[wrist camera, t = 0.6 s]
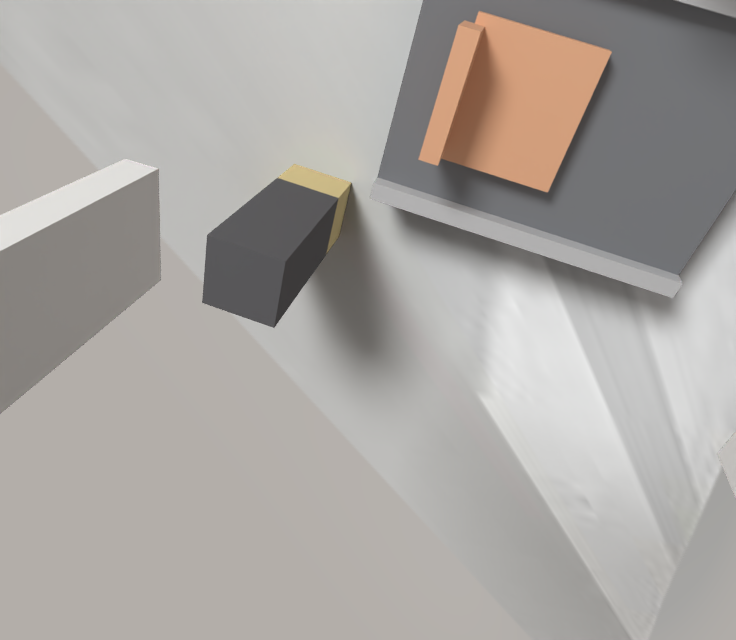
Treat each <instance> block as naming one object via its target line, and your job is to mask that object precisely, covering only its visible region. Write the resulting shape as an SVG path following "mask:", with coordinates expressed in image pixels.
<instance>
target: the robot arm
mask: <svg viewBox="0 0 736 640" xmlns="http://www.w3.org/2000/svg"><path fill="white" fill-rule="evenodd" d="M160 280H161V260H160V213H159V169H158V168H155V167H151V166H148V165H144V164H141V163H138V162H134V161H131V160H127V159H124V160H121V161H119V162H117V163H115V164H113V165H110V166H108V167H106V168H104V169H101V170H99V171H97V172H95V173H93V174H90V175H88V176H86V177H84V178H82V179H79V180H77V181H75V182H73V183H71V184H68V185H66V186H64V187H62V188H60V189H57V190H55V191H53V192H51V193H49V194H46V195H44V196H42V197H39V198H37V199H35V200H33V201H31V202H28V203H26V204H24V205H22V206H20V207H17V208H15V209H13V210H11V211H9V212H6V213H4V214H2V215H0V414H1V413H2V412H3V411H4V410H6V409H7V408H8V407H9V406H10V405H12V404H13V403H14V402H15V401H16V400H18V399H19V398H20V397H21V396H22V395H24V394H25V393H26V392H27V391H28V390H29V389H31V388H32V387H33V386H34V385H36V384H37V383H38V382H39V381H40V380H42V379H43V378H44V377H45V376H46V375H48V374H49V373H50V372H51V371H52V370H53V369H55V368H56V367H57V366H58V365H60V364H61V363H62V362H63V361H64V360H66V359H67V358H68V357H69V356H70V355H72V354H73V353H74V352H75V351H76V350H78V349H79V348H80V347H81V346H82V345H84V344H85V343H86V342H87V341H88V340H89V339H91V338H92V337H93V336H94V335H96V334H97V333H98V332H99V331H100V330H101V329H103V328H104V327H105V326H106V325H108V324H109V323H110V322H111V321H112V320H114V319H115V318H116V317H117V316H118V315H120V314H121V313H122V312H123V311H124V310H126V309H127V308H128V307H129V306H130V305H132V304H133V303H134V302H135V301H136V300H137V299H139V298H140V297H141V296H142V295H144V294H145V293H146V292H147V291H148V290H150V289H151V288H152V287H153V286H154V285H156V284H157V283H158V282H159V281H160ZM717 455H718V457H719V459H720V462H721V464H722V467H723V469H724V472H725V474H726V476H727V479H728V481H729V484H730V486H731V488H732V490H733V493H734V496H735V498H736V432H735V433H734V434H733V435H732V437H731V438H730V439H729V440H728V441H727V443H726V444H725V445H724V446H723V447H722V449H721V450H720V451H719V452H718V453H717Z"/></svg>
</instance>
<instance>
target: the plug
mask: <svg viewBox="0 0 736 640" xmlns="http://www.w3.org/2000/svg"><path fill="white" fill-rule="evenodd" d="M350 187H351V182H348V181H345V180H342V179H339V178H336V177H333V176H329V175H326V174H323V173H320V172H317V171H314V170H311V169H308V168H305V167H302V166H299V165H296V164H294V165H293V166H291V167H290V168H289V169H288V170H286V171H285V172H284V173H283V174H282V175H280V176H279V177H278V178H277V179H275V180H274V181H273V182H272V183H270V184H269V185H268V186H267V187H266V188H264V189H263V190H262V191H261V192H259V193H258V194H257V195H256V196H255V197H253V198H252V199H251V200H250V201H248V202H247V203H246V204H245V205H244V206H242V207H241V208H240V209H239V210H237V211H236V212H235V213H234V214H232V215H231V216H230V217H229V218H228V219H226V220H225V221H224V222H223V223H221V224H220V225H219V226H218V227H217V228H215V229H214V230H213V231H212V232H210V233H209V234H208V235H207V246H206V260H205V273H204V288H203V301H202V302H203V303H205V304H208V305H210V306H213V307H216V308H219V309H222V310H225V311H228V312H230V313H233V314H236V315H239V316H242V317H245V318H248V319H251V320H253V321H256V322H259V323H262V324H265V325H268V326H271V327H273V328H274V327H275V326H276V324H277V323H278V322H279V320H280V319H281V317H282V316H283V314H284V313H285V312H286V310H287V309H288V307H289V306H290V305H291V303H292V302H293V300H294V299H295V298H296V296H297V295H298V293H299V292H300V291H301V289H302V288H303V286H304V285H305V284H306V282H307V281H308V279H309V278H310V276H311V275H312V274H313V272H314V271H315V269H316V268H317V267H318V265H319V264H320V262H321V261H322V260H323V258H324V257H325V255H326V254H327V253H328V251H329V250H330V248H331V247H332V245H333V244H334V243H335V241H336V240H337V238H338V237H339V234H340V230H341V226H342V221H343V217H344V213H345V208H346V204H347V200H348V195H349V191H350Z"/></svg>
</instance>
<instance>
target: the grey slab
mask: <svg viewBox="0 0 736 640" xmlns="http://www.w3.org/2000/svg"><path fill="white" fill-rule="evenodd" d="M479 11H482V12H485V13H489V14H492V15H495V16H499V17H502V18H505V19H509V20H512V21H515V22H519V23H522V24H525V25H529V26H532V27H535V28H539V29H542V30H545V31H549V32H552V33H555V34H559V35H562V36H565V37H569V38H572V39H575V40H579V41H582V42H585V43H589V44H592V45H595V46H599V47H602V48H605V49H609V50H610V51H612V53H611V55H610V57H609V59H608V62H607V64H606V66H605V68H604V70H603V72H602V75H601V77H600V79H599V81H598V83H597V86H596V88H595V90H594V92H593V94H592V97H591V99H590V101H589V103H588V105H587V108H586V110H585V112H584V114H583V116H582V119H581V121H580V123H579V125H578V127H577V129H576V132H575V134H574V136H573V138H572V140H571V143H570V145H569V147H568V149H567V151H566V154H565V156H564V158H563V160H562V162H561V165H560V167H559V169H558V171H557V173H556V176H555V178H554V180H553V182H552V184H551V186H550V189H549V191H548V193H547V192H544V191H541V190H538V189H535V188H532V187H529V186H525V185H522V184H519V183H516V182H513V181H510V180H507V179H504V178H500V177H497V176H494V175H491V174H488V173H485V172H482V171H479V170H475V169H472V168H469V167H466V166H463V165H460V164H457V163H454V162H450V161H447V160H444V159H441V160H440V162H439V164H438V166H437V165H433V164H430V163H427V162H424V161H421V160H418V159H419V156H420V152H421V149H422V146H423V142H424V139H425V136H426V132H427V129H428V126H429V122H430V119H431V116H432V112H433V109H434V105H435V102H436V99H437V95H438V92H439V89H440V85H441V82H442V79H443V75H444V72H445V69H446V65H447V62H448V58H449V55H450V52H451V48H452V45H453V42H454V38H455V35H456V32H457V28H458V25H459V24H460V23H462V22H463V21H464V20H465V21H469V22H472V23H475V21H476V18H477V15H478V12H479ZM735 190H736V0H423V3H422V7H421V11H420V15H419V19H418V23H417V27H416V30H415V34H414V38H413V42H412V46H411V50H410V54H409V57H408V61H407V65H406V69H405V73H404V77H403V81H402V85H401V88H400V92H399V96H398V100H397V104H396V108H395V112H394V116H393V119H392V123H391V127H390V131H389V135H388V139H387V143H386V146H385V150H384V154H383V158H382V162H381V166H380V170H379V174H378V177H377V179H376V180H375V182H374V183H373V187H372V191H371V195H370V199H372V200H375V201H378V202H381V203H384V204H387V205H390V206H393V207H396V208H399V209H402V210H405V211H408V212H411V213H414V214H417V215H421V216H424V217H427V218H430V219H433V220H436V221H439V222H442V223H445V224H448V225H451V226H454V227H457V228H460V229H463V230H466V231H469V232H472V233H475V234H478V235H481V236H485V237H488V238H491V239H494V240H497V241H500V242H503V243H506V244H509V245H512V246H515V247H518V248H521V249H524V250H527V251H530V252H533V253H536V254H539V255H542V256H545V257H548V258H552V259H555V260H558V261H561V262H564V263H567V264H570V265H573V266H576V267H579V268H582V269H585V270H588V271H591V272H594V273H597V274H600V275H603V276H606V277H609V278H612V279H615V280H619V281H622V282H625V283H628V284H631V285H634V286H637V287H640V288H643V289H646V290H649V291H652V292H655V293H658V294H661V295H664V296H667V297H670V298H674V296H675V295H676V293H677V292H678V290H679V289H680V287H681V286H682V284H683V283H682V281H681V279H680V277H679V274H680V273H681V271H682V270H683V268H684V267H685V265H686V264H687V262H688V261H689V259H690V258H691V256H692V255H693V253H694V252H695V250H696V249H697V247H698V246H699V244H700V243H701V241H702V240H703V238H704V237H705V235H706V234H707V232H708V231H709V229H710V228H711V226H712V225H713V223H714V222H715V220H716V219H717V217H718V216H719V214H720V213H721V211H722V210H723V208H724V207H725V205H726V204H727V202H728V201H729V199H730V198H731V196H732V195H733V193H734V192H735Z"/></svg>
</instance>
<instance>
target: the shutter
mask: <svg viewBox="0 0 736 640" xmlns="http://www.w3.org/2000/svg"><path fill="white" fill-rule="evenodd" d="M611 53H612V51H610V50H609V49H605V48H602V47H599V46H595V45H592V44H589V43H585V42H582V41H579V40H575V39H572V38H569V37H565V36H562V35H559V34H555V33H552V32H549V31H545V30H542V29H539V28H535V27H532V26H529V25H525V24H522V23H519V22H515V21H512V20H509V19H505V18H502V17H499V16H495V15H492V14H489V13H485V12H482V11H479V12H478V15H477V18H476V21H475V23H472V22H469V21H465V20H464V21H463V22H462V23H460V24H459V25H458V28H457V32H456V35H455V38H454V42H453V45H452V48H451V52H450V55H449V58H448V62H447V65H446V69H445V72H444V75H443V79H442V82H441V85H440V89H439V92H438V95H437V99H436V102H435V105H434V109H433V112H432V116H431V119H430V122H429V126H428V129H427V132H426V136H425V139H424V142H423V146H422V149H421V152H420V156H419V159H418V160H421V161H424V162H427V163H430V164H433V165H437V166H438V164H439V162H440V160H441V159H444V160H447V161H450V162H454V163H457V164H460V165H463V166H466V167H469V168H472V169H475V170H479V171H482V172H485V173H488V174H491V175H494V176H497V177H500V178H504V179H507V180H510V181H513V182H516V183H519V184H522V185H525V186H529V187H532V188H535V189H538V190H541V191H544V192H547V193H548V191H549V189H550V186H551V184H552V182H553V180H554V178H555V176H556V173H557V171H558V169H559V167H560V165H561V162H562V160H563V158H564V156H565V154H566V151H567V149H568V147H569V145H570V143H571V140H572V138H573V136H574V134H575V132H576V129H577V127H578V125H579V123H580V121H581V119H582V116H583V114H584V112H585V110H586V108H587V105H588V103H589V101H590V99H591V97H592V94H593V92H594V90H595V88H596V86H597V83H598V81H599V79H600V77H601V75H602V72H603V70H604V68H605V66H606V64H607V62H608V59H609V57H610V55H611Z"/></svg>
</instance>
